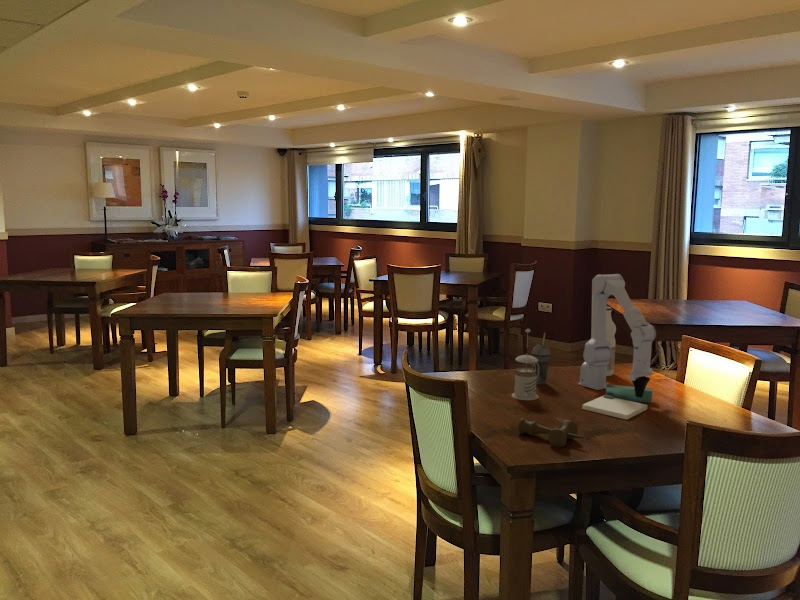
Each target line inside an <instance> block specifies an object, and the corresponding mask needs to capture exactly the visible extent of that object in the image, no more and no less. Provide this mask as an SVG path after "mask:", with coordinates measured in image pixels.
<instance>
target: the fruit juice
mask: <svg viewBox="0 0 800 600" xmlns="http://www.w3.org/2000/svg"><path fill="white" fill-rule="evenodd" d="M612 311H613V308H612V307H611V306H608V305H607V311H606V340H607V341H608V342H609V343H610V344H611V350H612V354H613V356H612V360H611V361H610V362H609V364H608V365H607V374H606V377H610V376H611V377H612V376H613V375H614V373H615V372H614V371H615V359H616V358H615V357H616V342H617V341H616V338H615V335H616V332H617V326H616V324H615V322H614V321H613V318H612Z"/></svg>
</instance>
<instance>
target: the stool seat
mask: <svg viewBox="0 0 800 600" xmlns="http://www.w3.org/2000/svg"><path fill="white" fill-rule="evenodd" d="M581 409H582V410H585V411H589V412H593V413H598V414H600V415H601V414H602V415H605V416H610V417H614V418H619V419H622V420H630V419H631V418H633V417H635V416H637V415H639V414H641V413H643V412H644V411H646V410H648V404H645V403H642V402H637V401H627V400H623V399H618V398H614V396H610V395H606V394H604V395H602V396H599V397H597V398H594V399H592V400H590V401H587V402H585V403H583V404H582V407H581Z"/></svg>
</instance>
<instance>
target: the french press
mask: <svg viewBox="0 0 800 600" xmlns="http://www.w3.org/2000/svg"><path fill="white" fill-rule="evenodd" d="M524 332H525V333H527V336H526V347H528V341H529V333H531V329H530V328H526V329H525V331H524ZM515 361H516V362H518V363H520V364H521V363H522V364H525V367H517V368H516V370H515V371H516V372H515V374H514V392H513V393H512V394H511V397H512V398H513V399H516V400H521V401H536V400H538V399H539V395H538V394H537V384H536V381H537V378H538V376H537V375H536V374H535V372H536V367H535V369H533V368H528V366H527V365H528V364H530V365H531V366H532V367H533V366H535V363H537V361H538V359H536V358H535V357H533V356H532V355H529V354H523V355H518V356H517V357H515ZM533 363H534V365H533ZM537 364H538V363H537ZM538 368H539V365H538ZM532 374H533V375H532ZM538 375H539V371H538Z"/></svg>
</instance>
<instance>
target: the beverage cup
mask: <svg viewBox="0 0 800 600" xmlns="http://www.w3.org/2000/svg"><path fill="white" fill-rule="evenodd" d="M545 339H546V332H544V333H543V338H542V342H541V343H538V344H536V345H534V347H533V349H532V351H531V356H533V357H535V358H536V359H538V361H537V363H538V364H537V363H535V366H532V369H535V367H536V372H535V374H536V375H537V376H538V378H537V381H536V385H542V386H543V385H546V383H547V377H548V370H549V363H550V360H551V359H550V358H551V350H550V347H548V345H546V344H545ZM532 365H534V363H532ZM538 365H539V368H538ZM538 371H539V375H538Z"/></svg>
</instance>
